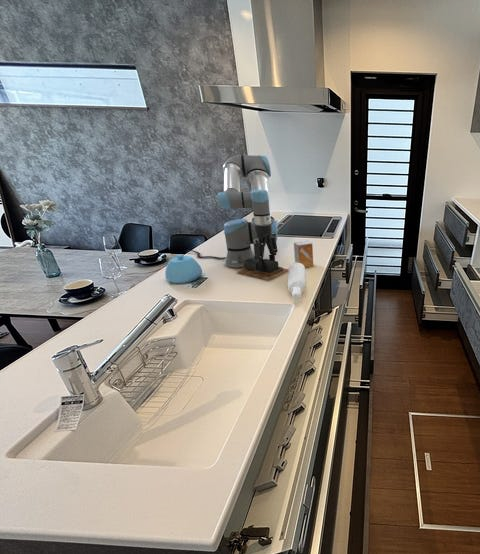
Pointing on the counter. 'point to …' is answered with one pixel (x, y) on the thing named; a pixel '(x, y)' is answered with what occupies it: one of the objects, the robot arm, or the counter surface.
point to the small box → (304, 253)
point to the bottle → (297, 280)
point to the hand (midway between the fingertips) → (268, 269)
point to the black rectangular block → (269, 265)
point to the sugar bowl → (182, 269)
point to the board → (252, 270)
